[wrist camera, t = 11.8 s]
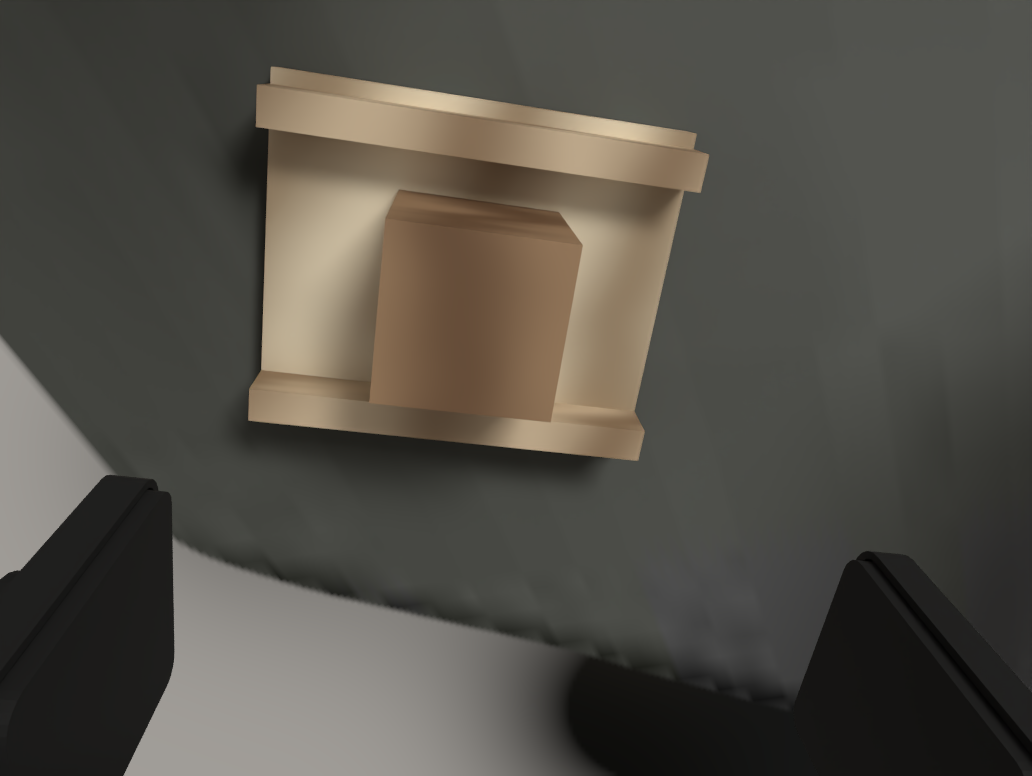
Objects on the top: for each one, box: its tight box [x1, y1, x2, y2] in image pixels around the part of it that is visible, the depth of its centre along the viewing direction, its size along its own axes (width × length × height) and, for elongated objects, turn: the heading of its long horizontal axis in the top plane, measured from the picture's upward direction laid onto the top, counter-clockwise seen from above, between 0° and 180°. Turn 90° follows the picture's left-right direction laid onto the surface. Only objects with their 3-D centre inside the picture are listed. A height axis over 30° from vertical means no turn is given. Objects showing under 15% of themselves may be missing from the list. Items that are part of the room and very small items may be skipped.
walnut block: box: [369, 189, 583, 423], centre depth 25 cm, size 6×6×6 cm
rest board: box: [248, 67, 709, 461], centre depth 27 cm, size 14×12×3 cm
